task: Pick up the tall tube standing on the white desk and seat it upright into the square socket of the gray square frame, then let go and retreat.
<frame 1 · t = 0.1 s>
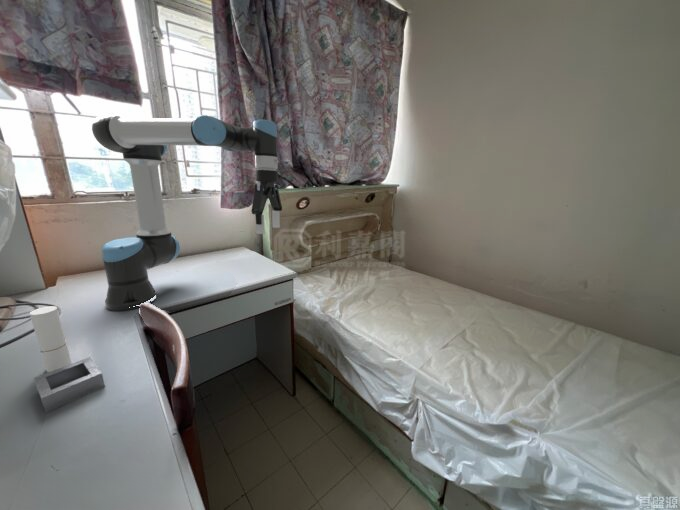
hand: (268, 230, 98), 28 cm above the table, fingers open, 13 cm apart
tube: (59, 367, 65), on the table
gray square frame: (72, 389, 58), on the table
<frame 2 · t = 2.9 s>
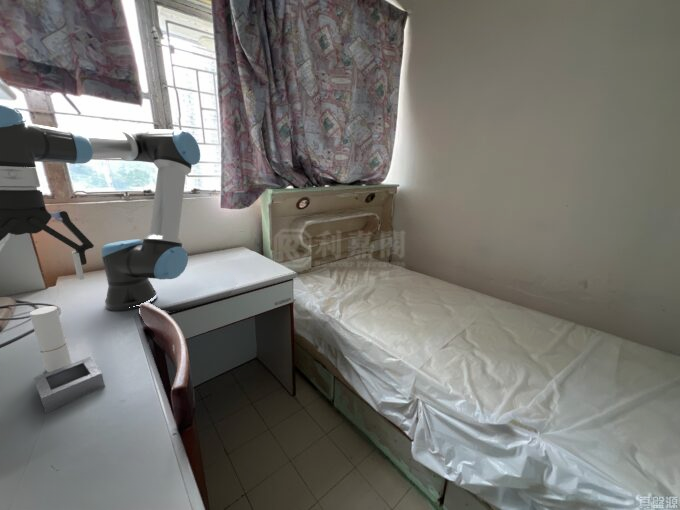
hand: (40, 286, 60), 21 cm above the table, fingers open, 13 cm apart
nothing on the table moved.
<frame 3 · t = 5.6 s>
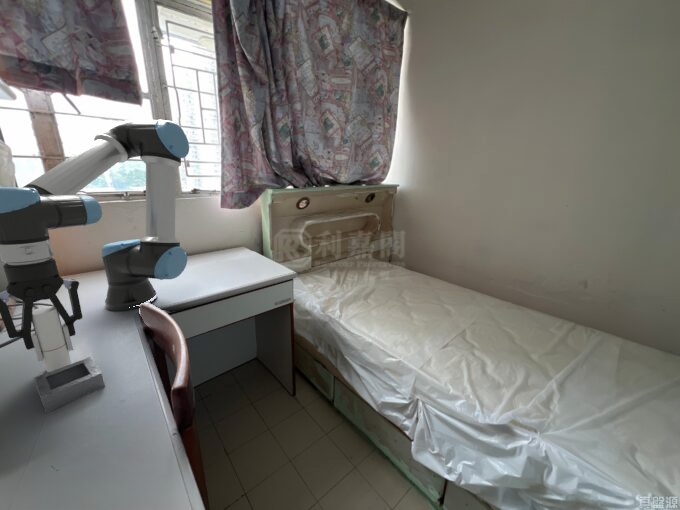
hand: (55, 353, 64), 4 cm above the table, fingers closed on tube, 4 cm apart
tube: (59, 367, 65), on the table, touching gripper
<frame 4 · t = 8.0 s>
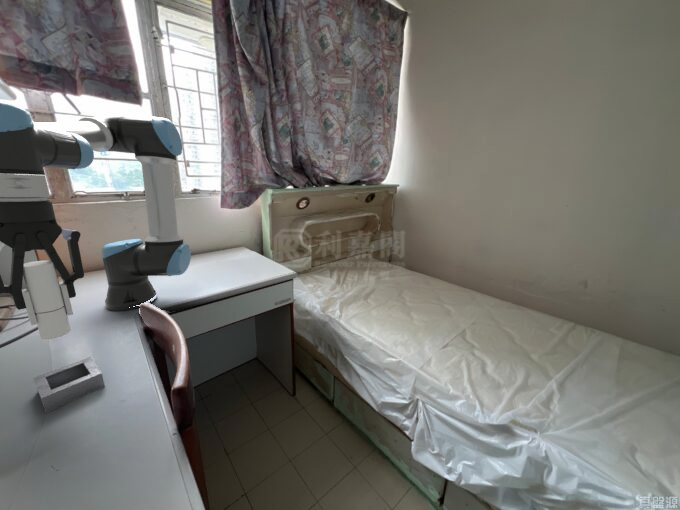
hand: (51, 317, 54), 17 cm above the table, fingers closed on tube, 4 cm apart
tube: (56, 334, 55), point 14 cm above the table, touching gripper
when the fingers open (6 cm above the table, at t = 10.6 s): tube drops 2 cm, on the table.
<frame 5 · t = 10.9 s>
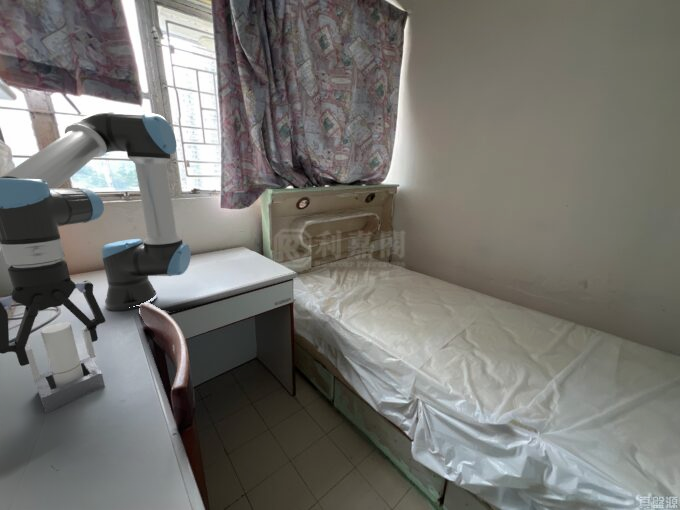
hand: (65, 364, 57), 6 cm above the table, fingers open, 8 cm apart
tube: (72, 389, 58), on the table
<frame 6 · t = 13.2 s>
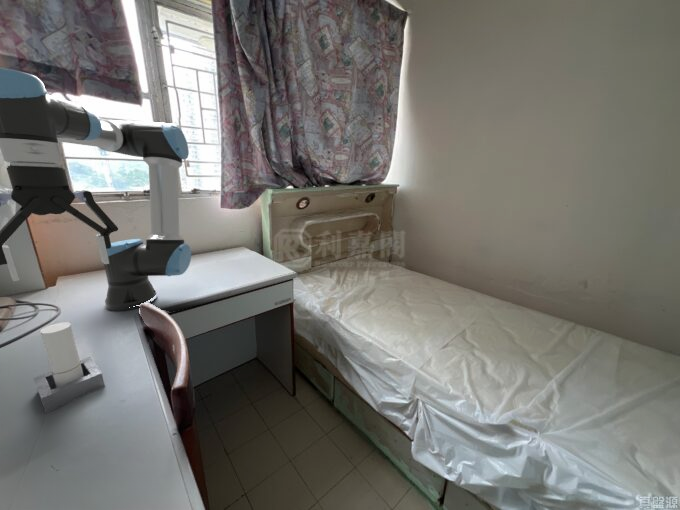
hand: (64, 270, 57), 26 cm above the table, fingers open, 13 cm apart
nothing on the table moved.
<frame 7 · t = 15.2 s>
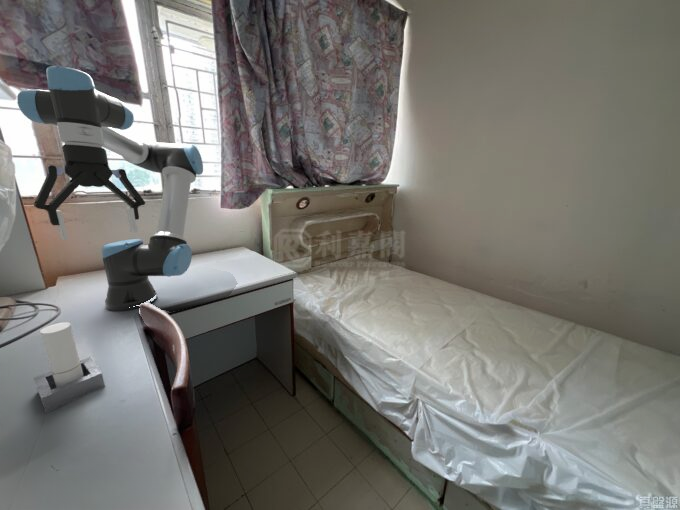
hand: (101, 235, 68), 31 cm above the table, fingers open, 13 cm apart
nothing on the table moved.
at the end: tube 0.1 cm from the gray square frame (horizontally); tube touching table; tube tilted 0° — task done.
